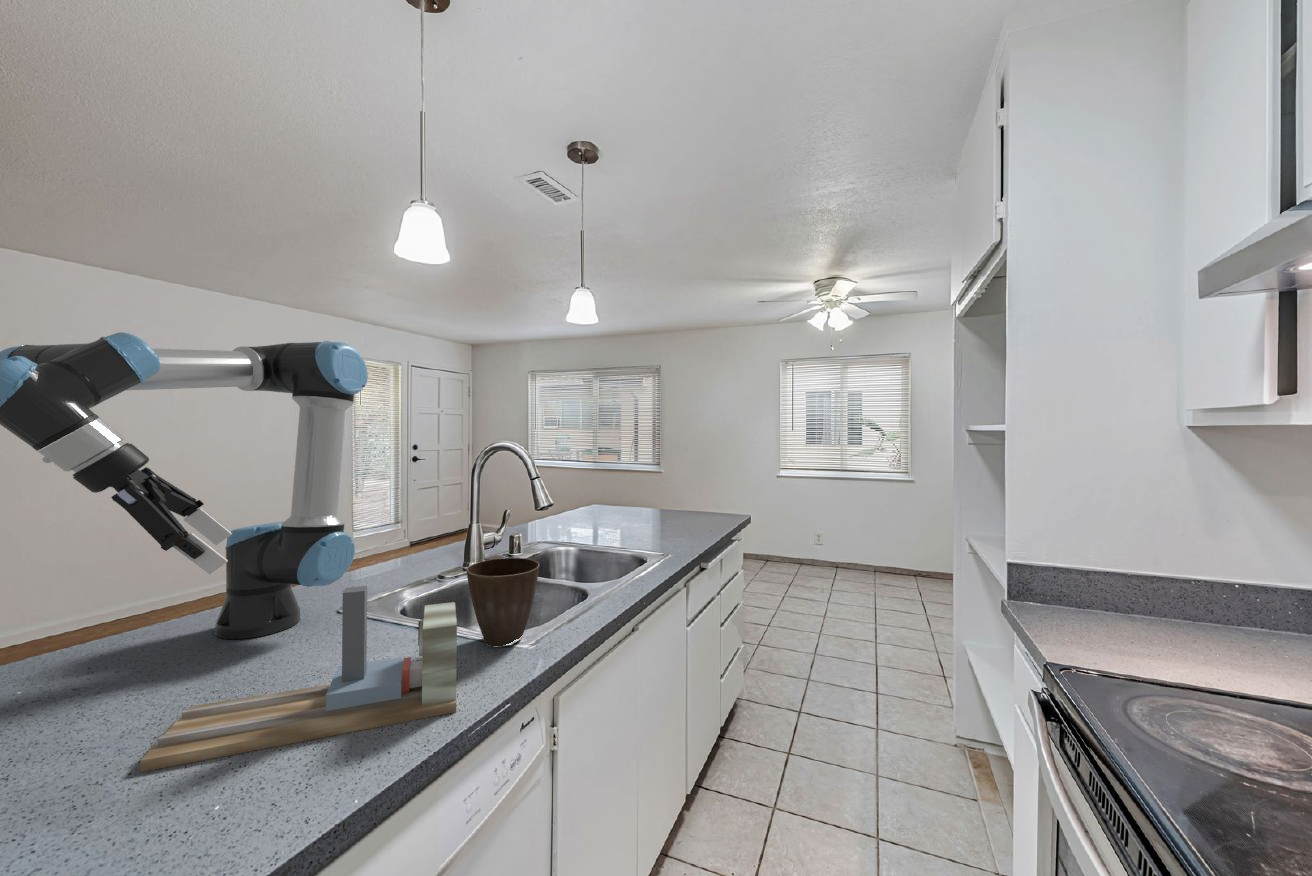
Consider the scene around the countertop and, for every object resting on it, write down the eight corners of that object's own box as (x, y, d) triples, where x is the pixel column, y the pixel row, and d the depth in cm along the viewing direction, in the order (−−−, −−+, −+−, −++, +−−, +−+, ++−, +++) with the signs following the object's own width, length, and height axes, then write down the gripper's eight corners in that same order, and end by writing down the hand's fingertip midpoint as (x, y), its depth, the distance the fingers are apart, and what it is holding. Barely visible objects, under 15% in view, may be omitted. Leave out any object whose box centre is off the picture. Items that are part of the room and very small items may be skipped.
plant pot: (492, 662, 97) (493, 580, 97) (451, 642, 107) (452, 567, 107) (552, 639, 109) (553, 565, 109) (511, 622, 118) (512, 554, 118)
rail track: (189, 716, 78) (190, 629, 78) (454, 673, 93) (454, 600, 93) (140, 772, 65) (141, 668, 65) (456, 712, 80) (457, 627, 80)
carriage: (338, 680, 84) (339, 582, 84) (405, 670, 88) (406, 576, 88) (325, 711, 75) (326, 601, 75) (400, 698, 79) (401, 593, 79)
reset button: (404, 681, 86) (404, 658, 86) (448, 674, 88) (448, 651, 88) (402, 695, 81) (402, 670, 81) (448, 687, 84) (449, 663, 84)
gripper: (92, 457, 81) (205, 543, 92) (39, 496, 62) (189, 600, 72) (142, 428, 84) (246, 515, 95) (106, 457, 65) (241, 562, 75)
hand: (221, 552), depth 84 cm, fingers open, 13 cm apart
